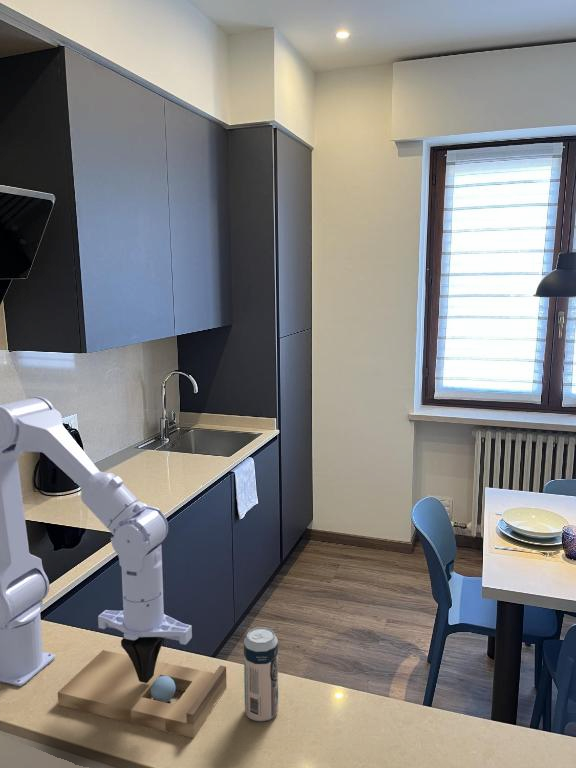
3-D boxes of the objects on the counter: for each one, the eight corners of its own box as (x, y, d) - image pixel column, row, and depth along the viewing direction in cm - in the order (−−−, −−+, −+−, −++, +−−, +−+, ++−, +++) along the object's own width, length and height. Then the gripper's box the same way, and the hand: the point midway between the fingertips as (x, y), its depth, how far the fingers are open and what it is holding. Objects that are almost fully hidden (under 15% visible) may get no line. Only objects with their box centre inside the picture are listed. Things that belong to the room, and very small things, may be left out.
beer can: (283, 718, 83) (282, 640, 81) (250, 728, 81) (249, 647, 79) (271, 697, 87) (270, 622, 86) (240, 706, 86) (239, 629, 84)
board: (58, 704, 86) (56, 683, 85) (103, 661, 96) (102, 641, 96) (193, 738, 79) (193, 714, 79) (226, 687, 90) (226, 666, 89)
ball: (171, 695, 84) (162, 713, 85) (183, 679, 87) (174, 697, 88) (151, 680, 85) (142, 699, 86) (163, 666, 88) (155, 683, 89)
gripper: (83, 598, 84) (88, 685, 86) (174, 614, 79) (177, 705, 81) (112, 576, 90) (116, 657, 92) (197, 589, 86) (199, 675, 88)
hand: (146, 678), depth 87 cm, fingers closed
